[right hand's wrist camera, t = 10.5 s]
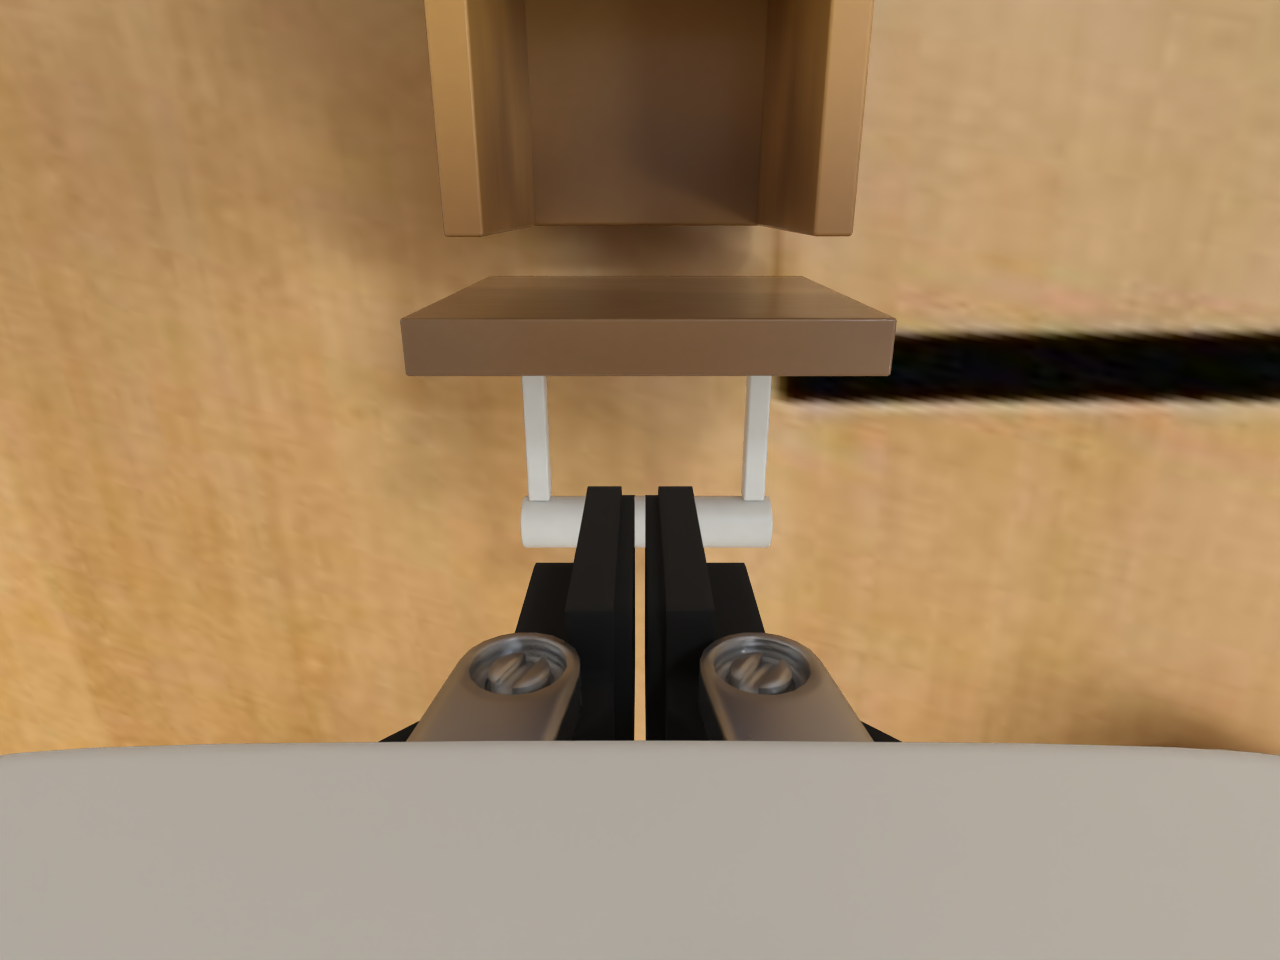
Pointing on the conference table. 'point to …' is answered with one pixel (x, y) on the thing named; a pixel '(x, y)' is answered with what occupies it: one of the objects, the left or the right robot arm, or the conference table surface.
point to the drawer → (648, 206)
